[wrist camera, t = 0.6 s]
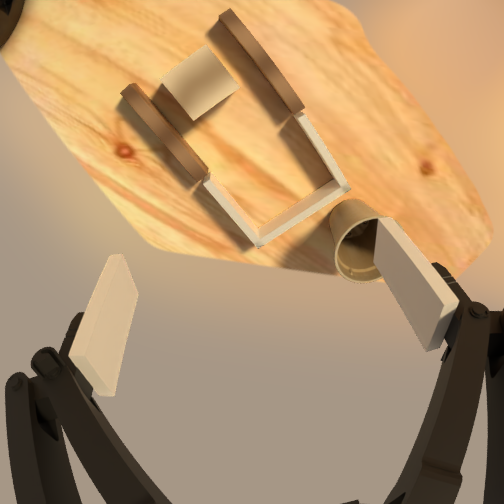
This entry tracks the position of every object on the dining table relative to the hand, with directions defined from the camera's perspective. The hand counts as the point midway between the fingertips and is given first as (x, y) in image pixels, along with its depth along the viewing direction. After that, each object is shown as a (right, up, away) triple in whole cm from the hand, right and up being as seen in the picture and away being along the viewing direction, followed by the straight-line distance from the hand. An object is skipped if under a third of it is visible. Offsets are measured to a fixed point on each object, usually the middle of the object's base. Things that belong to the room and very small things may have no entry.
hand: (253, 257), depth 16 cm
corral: (+3, +10, +24) cm, 26 cm away
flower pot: (+13, +5, +28) cm, 31 cm away
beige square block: (-6, +20, +17) cm, 26 cm away
